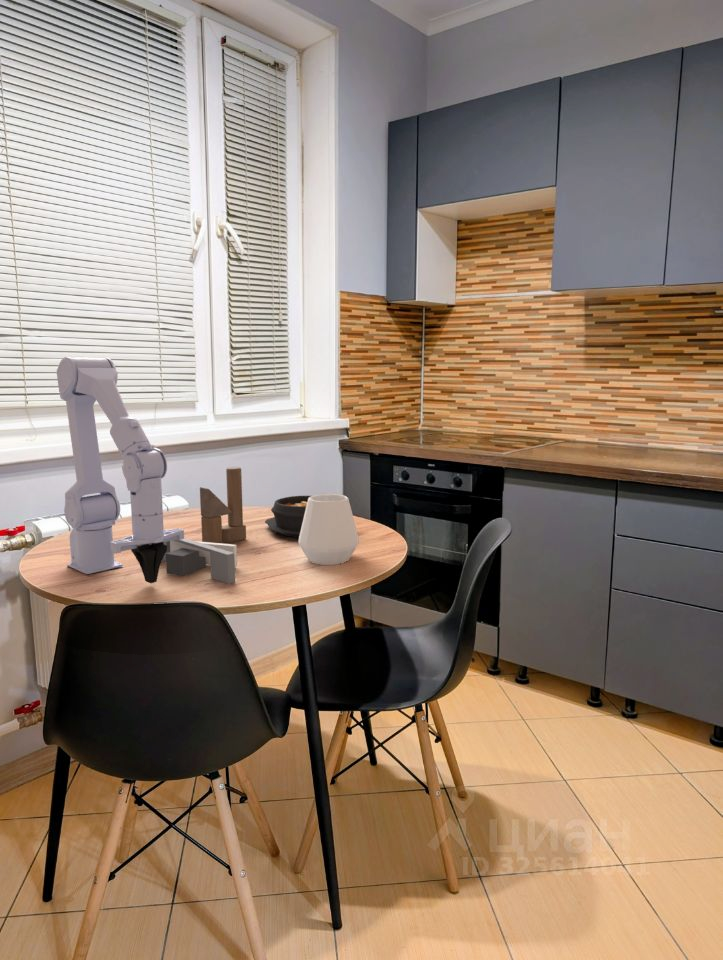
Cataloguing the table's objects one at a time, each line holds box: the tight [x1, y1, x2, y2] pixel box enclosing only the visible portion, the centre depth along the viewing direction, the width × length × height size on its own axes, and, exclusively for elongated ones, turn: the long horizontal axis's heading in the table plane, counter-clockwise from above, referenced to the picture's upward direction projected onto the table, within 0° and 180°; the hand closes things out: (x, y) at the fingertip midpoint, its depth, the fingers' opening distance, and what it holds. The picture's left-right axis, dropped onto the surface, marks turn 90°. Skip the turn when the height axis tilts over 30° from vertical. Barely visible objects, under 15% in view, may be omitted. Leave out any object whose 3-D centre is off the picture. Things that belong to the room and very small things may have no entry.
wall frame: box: [162, 537, 236, 585], centre depth 142 cm, size 28×2×6 cm, turn 48°
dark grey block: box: [165, 548, 207, 577], centre depth 141 cm, size 4×7×4 cm, turn 153°
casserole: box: [264, 495, 312, 538], centre depth 173 cm, size 25×19×8 cm
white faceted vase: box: [297, 493, 360, 566], centre depth 148 cm, size 13×13×14 cm
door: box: [170, 540, 238, 568], centre depth 144 cm, size 15×1×5 cm, turn 73°
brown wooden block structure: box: [199, 466, 247, 544], centre depth 162 cm, size 4×11×18 cm, turn 138°
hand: (150, 581), depth 131 cm, fingers closed
